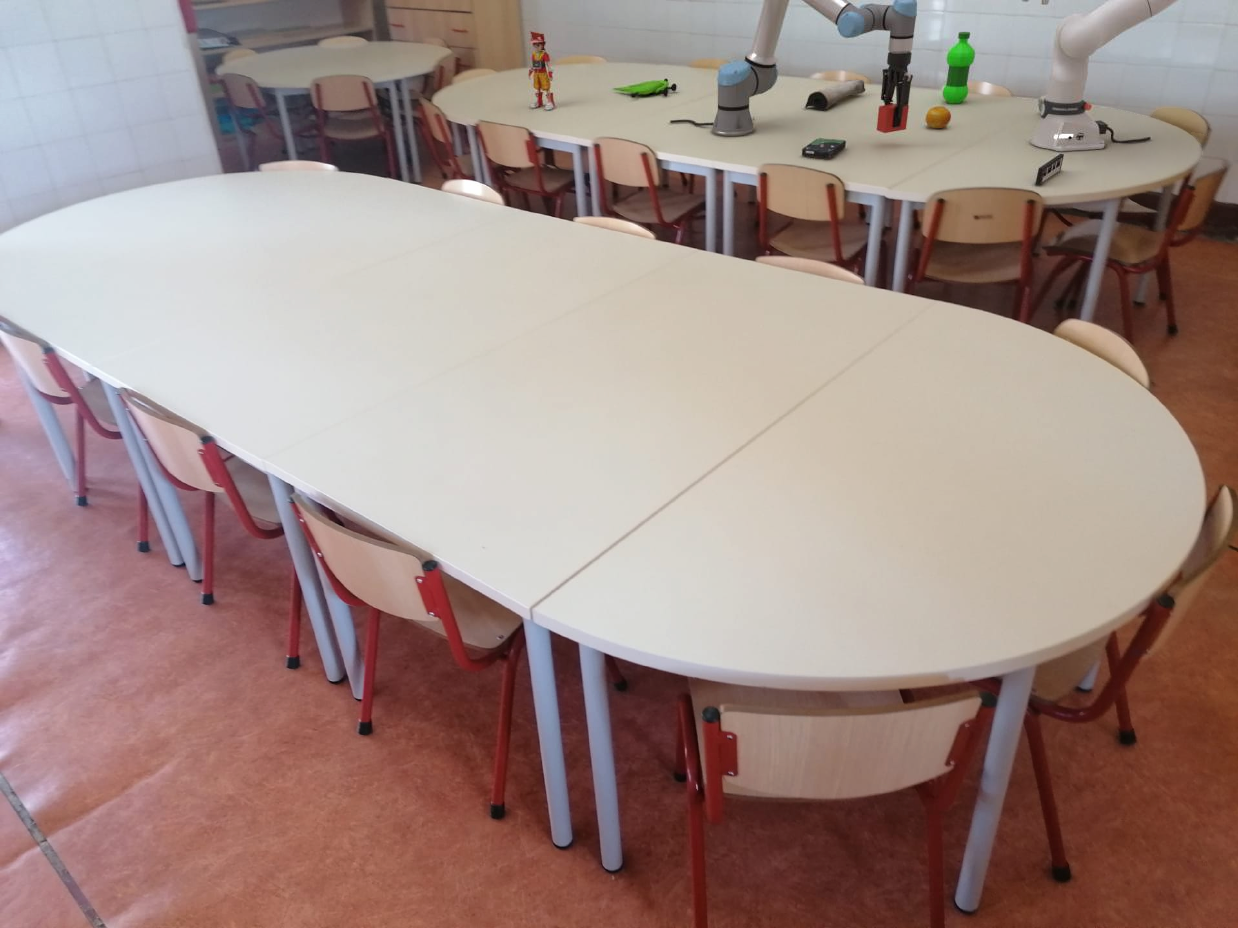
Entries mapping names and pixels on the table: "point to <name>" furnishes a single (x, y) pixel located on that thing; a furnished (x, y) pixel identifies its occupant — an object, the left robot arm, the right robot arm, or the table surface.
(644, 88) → the toy
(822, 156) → the disk drive
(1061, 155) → the midi keyboard
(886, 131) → the block
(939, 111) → the fruit
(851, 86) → the rolled mat
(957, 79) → the plastic bottle
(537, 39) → the toy
